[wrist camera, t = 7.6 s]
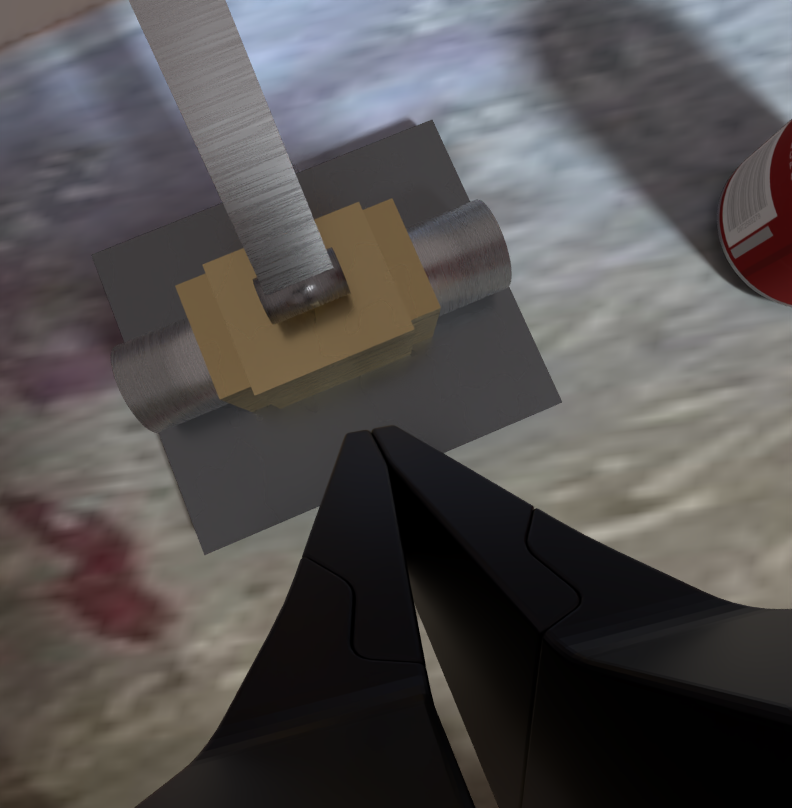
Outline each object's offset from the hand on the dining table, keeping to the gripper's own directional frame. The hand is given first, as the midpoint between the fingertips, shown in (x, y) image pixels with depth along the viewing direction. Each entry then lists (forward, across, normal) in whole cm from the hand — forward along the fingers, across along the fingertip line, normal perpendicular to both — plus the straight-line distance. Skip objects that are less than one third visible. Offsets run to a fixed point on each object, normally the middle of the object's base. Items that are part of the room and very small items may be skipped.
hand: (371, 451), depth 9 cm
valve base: (+13, -1, +3) cm, 13 cm away
